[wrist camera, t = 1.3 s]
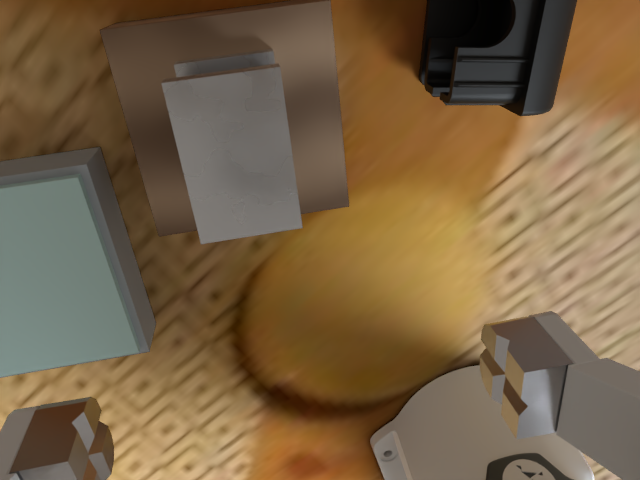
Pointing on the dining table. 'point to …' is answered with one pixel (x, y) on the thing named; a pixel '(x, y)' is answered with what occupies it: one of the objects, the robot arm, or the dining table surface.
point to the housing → (234, 144)
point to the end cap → (495, 52)
